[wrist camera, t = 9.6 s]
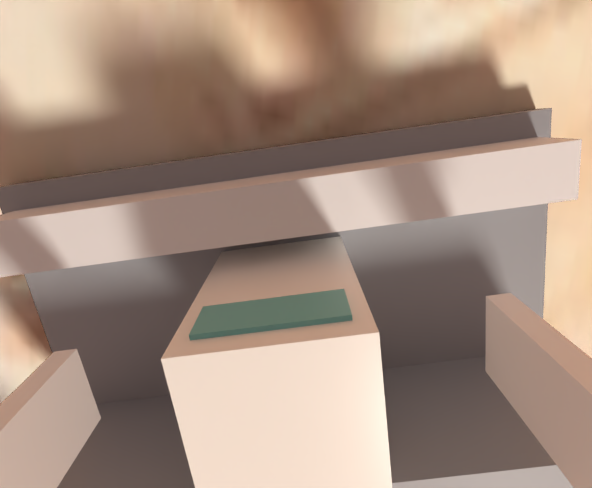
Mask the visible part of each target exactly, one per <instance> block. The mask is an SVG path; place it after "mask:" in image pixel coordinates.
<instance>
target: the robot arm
mask: <svg viewBox="0 0 592 488" xmlns="http://www.w3.org/2000/svg"><path fill="white" fill-rule="evenodd" d="M485 371H486V372H487V374H488V375H489V376H490V378H491V379H492V380H493V382H494V383H495V384H496V386H497V387H498V388H499V390H500V391H501V392H502V394H503V395H504V396H505V397H506V399H507V400H508V401H509V403H510V404H511V405H512V407H513V408H514V409H515V411H516V412H517V413H518V415H519V416H520V417H521V419H522V420H523V421H524V423H525V424H526V425H527V427H528V428H529V429H530V430H531V432H532V433H533V434H534V436H535V437H536V438H537V440H538V441H539V442H540V444H541V445H542V446H543V448H544V449H545V450H546V452H547V453H548V454H549V456H550V457H551V458H552V460H553V461H554V462H555V463H556V465H557V466H558V467H559V469H560V470H561V471H562V473H563V474H564V475H565V477H566V478H567V479H568V481H569V482H570V483H571V485H572V486H573V487H574V488H592V358H590V357H589V356H588V355H587V354H586V353H584V352H583V351H582V350H581V349H579V348H578V347H577V346H576V345H574V344H573V343H572V342H571V341H569V340H568V339H567V338H566V337H565V336H563V335H562V334H561V333H560V332H558V331H557V330H556V329H555V328H553V327H552V326H551V325H550V324H548V323H547V322H546V321H545V320H544V319H542V318H541V317H540V316H539V315H537V314H536V313H535V312H534V311H532V310H531V309H530V308H529V307H527V306H526V305H525V304H524V303H523V302H521V301H520V300H519V299H518V298H516V297H515V296H514V295H513V294H511V293H505V294H497V295H490V296H486V355H485ZM100 419H101V416H100V414H99V411H98V408H97V405H96V402H95V399H94V396H93V394H92V391H91V388H90V385H89V382H88V379H87V376H86V374H85V371H84V368H83V365H82V362H81V359H80V356H79V354H78V351H77V349H71V350H63V351H55V352H53V353H52V354H51V355H50V356H49V357H48V358H47V359H46V360H45V361H44V362H43V363H42V364H41V365H40V366H39V367H38V368H37V369H36V370H35V371H34V372H33V373H32V374H31V375H30V376H29V377H28V378H27V379H26V380H25V381H24V382H23V383H22V384H21V385H20V386H19V387H18V388H17V389H16V390H15V391H14V392H12V393H11V394H10V395H9V396H8V397H7V398H6V399H5V400H4V401H3V402H2V403H1V404H0V488H57V487H58V485H59V484H60V482H61V481H62V479H63V477H64V476H65V474H66V473H67V471H68V470H69V468H70V466H71V465H72V463H73V462H74V460H75V459H76V457H77V455H78V454H79V452H80V451H81V449H82V447H83V446H84V444H85V443H86V441H87V440H88V438H89V436H90V435H91V433H92V432H93V430H94V429H95V427H96V425H97V424H98V422H99V421H100Z"/></svg>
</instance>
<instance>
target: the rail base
mask: <svg viewBox="0 0 592 488" xmlns="http://www.w3.org/2000/svg"><path fill="white" fill-rule="evenodd" d="M551 114H552V108H544V109H533V110H526V111H519V112H512V113H505V114H498V115H491V116H484V117H477V118H470V119H463V120H456V121H449V122H442V123H435V124H428V125H421V126H415V127H408V128H401V129H394V130H387V131H380V132H373V133H366V134H359V135H352V136H345V137H338V138H331V139H324V140H317V141H310V142H303V143H296V144H289V145H282V146H275V147H268V148H261V149H254V150H248V151H241V152H234V153H227V154H220V155H213V156H206V157H199V158H192V159H185V160H178V161H171V162H164V163H157V164H150V165H143V166H136V167H129V168H122V169H115V170H108V171H101V172H94V173H87V174H81V175H74V176H67V177H60V178H53V179H46V180H39V181H32V182H25V183H18V184H11V185H6V186H1V187H0V208H1V211H2V213H3V214H2V215H0V277H6V276H14V275H21V274H24V275H25V278H26V281H27V283H28V286H29V289H30V292H31V295H32V297H33V300H34V303H35V306H36V309H37V311H38V314H39V317H40V320H41V323H42V325H43V328H44V331H45V334H46V337H47V339H48V342H49V345H50V348H51V351H52V353H53V352H55V351H63V350H71V349H77V351H78V354H79V356H80V359H81V362H82V365H83V368H84V371H85V374H86V376H87V379H88V382H89V385H90V388H91V391H92V394H93V396H94V399H95V402H96V405H97V408H98V411H99V414H100V416H101V419H100V421H99V422H98V424H97V425H96V427H95V429H94V430H93V432H92V433H91V435H90V436H89V438H88V440H87V441H86V443H85V444H84V446H83V447H82V449H81V451H80V452H79V454H78V455H77V457H76V459H75V460H74V462H73V463H72V465H71V466H70V468H69V470H68V471H67V473H66V474H65V476H64V477H63V479H62V481H61V482H60V484H59V485H58V487H57V488H195V486H194V482H193V478H192V474H191V471H190V467H189V463H188V459H187V456H186V452H185V448H184V444H183V440H182V437H181V433H180V429H179V425H178V422H177V418H176V414H175V410H174V407H173V403H172V399H171V395H170V392H169V388H168V384H167V380H166V377H165V373H164V369H163V365H162V362H161V358H162V356H163V354H164V353H165V351H166V349H167V347H168V345H169V344H170V342H171V340H172V338H173V337H174V335H175V333H176V331H177V330H178V328H179V326H180V324H181V323H182V321H183V319H184V317H185V316H186V314H187V312H188V310H189V309H190V307H191V305H192V303H193V302H194V300H195V298H196V296H197V294H198V293H199V291H200V289H201V287H202V286H203V284H204V282H205V280H206V279H207V277H208V275H209V273H210V272H211V270H212V268H213V266H214V265H215V263H216V261H217V259H218V258H219V256H220V254H221V252H224V251H232V250H239V249H247V248H255V247H262V246H270V245H278V244H285V243H293V242H301V241H308V240H316V239H323V238H331V237H339V236H340V237H341V239H342V242H343V244H344V246H345V249H346V251H347V254H348V256H349V259H350V261H351V264H352V266H353V269H354V271H355V274H356V276H357V279H358V281H359V284H360V286H361V289H362V291H363V294H364V296H365V298H366V301H367V303H368V306H369V308H370V311H371V313H372V316H373V318H374V321H375V323H376V326H377V328H378V331H379V336H380V348H381V360H382V371H383V383H384V395H385V407H386V418H387V430H388V442H389V454H390V465H391V477H392V488H574V487H573V486H572V485H571V483H570V482H569V481H568V479H567V478H566V477H565V475H564V474H563V473H562V471H561V470H560V469H559V467H558V466H557V465H556V463H555V462H554V461H553V460H552V458H551V457H550V456H549V454H548V453H547V452H546V450H545V449H544V448H543V446H542V445H541V444H540V442H539V441H538V440H537V438H536V437H535V436H534V434H533V433H532V432H531V430H530V429H529V428H528V427H527V425H526V424H525V423H524V421H523V420H522V419H521V417H520V416H519V415H518V413H517V412H516V411H515V409H514V408H513V407H512V405H511V404H510V403H509V401H508V400H507V399H506V397H505V396H504V395H503V394H502V392H501V391H500V390H499V388H498V387H497V386H496V384H495V383H494V382H493V380H492V379H491V378H490V376H489V375H488V374H487V372H486V371H485V355H486V296H490V295H497V294H505V293H511V294H513V295H514V296H515V297H516V298H518V299H519V300H520V301H521V302H523V303H524V304H525V305H526V306H527V307H529V308H530V309H531V310H532V311H534V312H535V313H536V314H537V315H539V316H540V317H541V318H542V319H543V306H544V282H545V258H546V234H547V210H548V203H554V202H562V201H569V200H577V199H578V190H579V175H580V159H581V143H582V139H565V138H551Z"/></svg>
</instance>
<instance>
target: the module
mask: <svg viewBox="0 0 592 488" xmlns="http://www.w3.org/2000/svg"><path fill="white" fill-rule="evenodd" d="M161 362H162V365H163V369H164V373H165V377H166V380H167V384H168V388H169V392H170V395H171V399H172V403H173V407H174V410H175V414H176V418H177V422H178V425H179V429H180V433H181V437H182V440H183V444H184V448H185V452H186V456H187V459H188V463H189V467H190V471H191V474H192V478H193V482H194V486H195V488H392V477H391V465H390V454H389V442H388V430H387V418H386V407H385V395H384V383H383V371H382V360H381V348H380V336H379V331H378V328H377V326H376V323H375V321H374V318H373V316H372V313H371V311H370V308H369V306H368V303H367V301H366V298H365V296H364V294H363V291H362V289H361V286H360V284H359V281H358V279H357V276H356V274H355V271H354V269H353V266H352V264H351V261H350V259H349V256H348V254H347V251H346V249H345V246H344V244H343V242H342V239H341V237H340V236H339V237H331V238H323V239H316V240H308V241H301V242H293V243H285V244H278V245H270V246H262V247H255V248H247V249H239V250H232V251H224V252H221V254H220V256H219V258H218V259H217V261H216V263H215V265H214V266H213V268H212V270H211V272H210V273H209V275H208V277H207V279H206V280H205V282H204V284H203V286H202V287H201V289H200V291H199V293H198V294H197V296H196V298H195V300H194V302H193V303H192V305H191V307H190V309H189V310H188V312H187V314H186V316H185V317H184V319H183V321H182V323H181V324H180V326H179V328H178V330H177V331H176V333H175V335H174V337H173V338H172V340H171V342H170V344H169V345H168V347H167V349H166V351H165V353H164V354H163V356H162V358H161Z"/></svg>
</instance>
